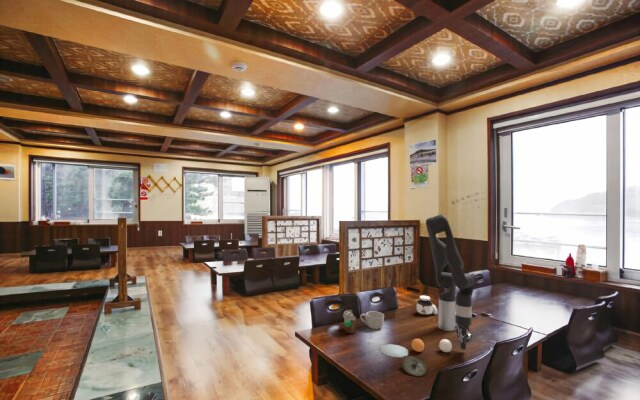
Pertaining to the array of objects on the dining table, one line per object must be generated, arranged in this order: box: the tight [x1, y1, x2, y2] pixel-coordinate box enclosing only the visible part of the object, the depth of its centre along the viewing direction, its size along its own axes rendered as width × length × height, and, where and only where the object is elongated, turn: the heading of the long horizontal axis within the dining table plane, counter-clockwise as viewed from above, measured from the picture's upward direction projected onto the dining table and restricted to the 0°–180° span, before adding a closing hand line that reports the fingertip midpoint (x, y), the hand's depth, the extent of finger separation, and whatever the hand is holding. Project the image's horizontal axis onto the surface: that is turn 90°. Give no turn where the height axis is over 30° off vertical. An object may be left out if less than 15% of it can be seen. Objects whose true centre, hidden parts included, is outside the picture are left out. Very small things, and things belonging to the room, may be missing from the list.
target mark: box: [379, 343, 409, 358], centre depth 157 cm, size 14×14×1 cm
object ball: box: [411, 338, 425, 353], centre depth 157 cm, size 6×6×6 cm
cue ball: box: [438, 338, 453, 353], centre depth 157 cm, size 6×6×6 cm
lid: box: [401, 356, 428, 377], centre depth 138 cm, size 11×10×5 cm
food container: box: [342, 309, 357, 335], centre depth 181 cm, size 12×6×10 cm, turn 5°
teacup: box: [359, 310, 385, 330], centre depth 188 cm, size 14×11×8 cm
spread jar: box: [416, 295, 439, 317], centre depth 215 cm, size 12×11×12 cm
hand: (462, 349), depth 157 cm, fingers closed
